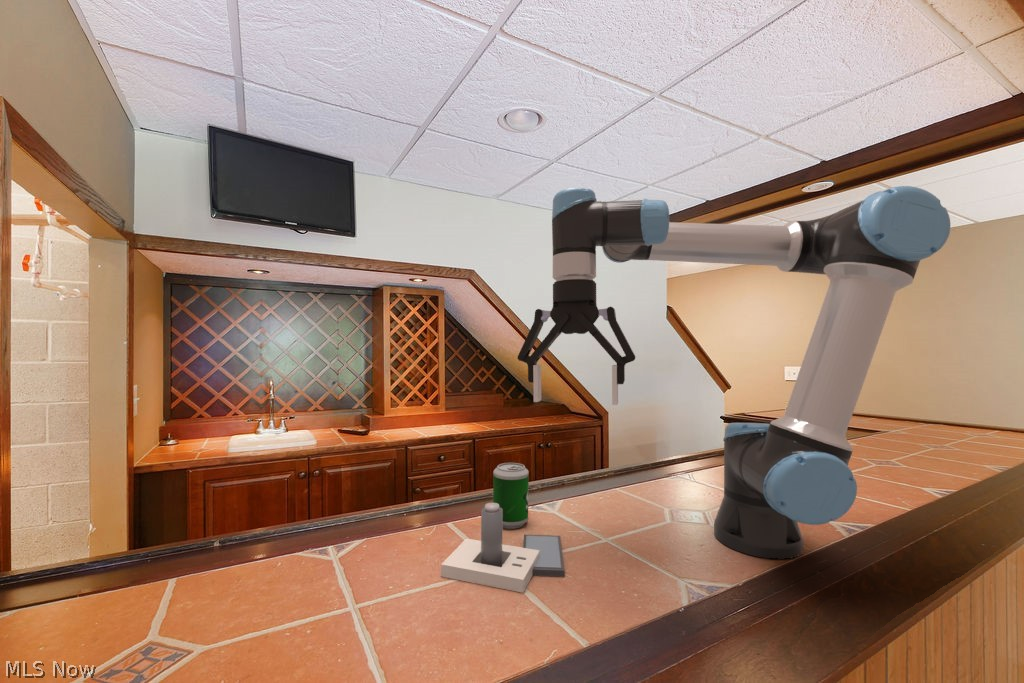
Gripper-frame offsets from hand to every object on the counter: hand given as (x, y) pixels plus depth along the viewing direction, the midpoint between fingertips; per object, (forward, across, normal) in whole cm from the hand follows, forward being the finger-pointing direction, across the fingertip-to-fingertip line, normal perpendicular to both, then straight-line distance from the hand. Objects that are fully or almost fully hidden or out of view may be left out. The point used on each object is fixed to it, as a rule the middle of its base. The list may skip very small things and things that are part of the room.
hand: (575, 402), depth 76 cm
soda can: (+28, +16, -12) cm, 35 cm away
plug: (+28, +13, +7) cm, 31 cm away
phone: (+28, +6, 0) cm, 28 cm away
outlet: (+28, +13, +7) cm, 31 cm away
